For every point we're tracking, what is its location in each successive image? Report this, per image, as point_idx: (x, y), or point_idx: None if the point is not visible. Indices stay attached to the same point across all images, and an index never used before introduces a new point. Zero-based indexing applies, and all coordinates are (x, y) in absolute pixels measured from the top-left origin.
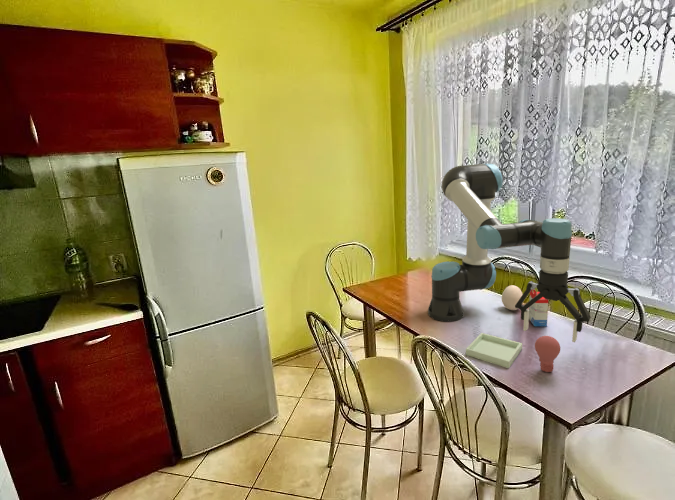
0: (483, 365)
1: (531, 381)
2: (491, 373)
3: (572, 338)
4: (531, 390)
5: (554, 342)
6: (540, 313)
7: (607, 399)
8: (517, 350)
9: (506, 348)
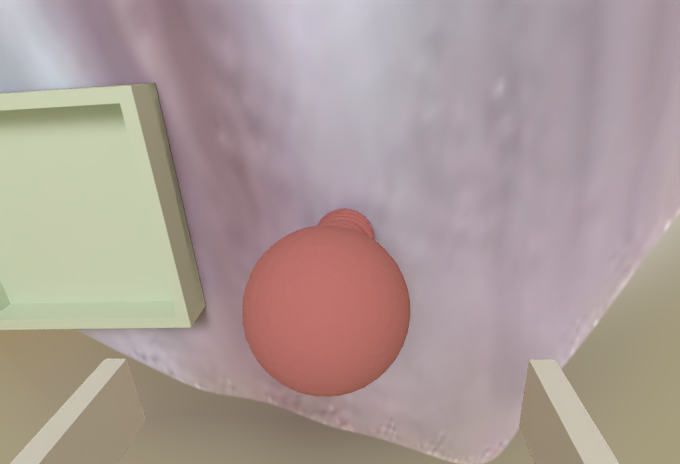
0: (118, 339)
1: None
2: (176, 372)
3: (532, 454)
4: None
5: (374, 369)
6: None
7: (607, 302)
8: (159, 191)
9: (92, 147)
